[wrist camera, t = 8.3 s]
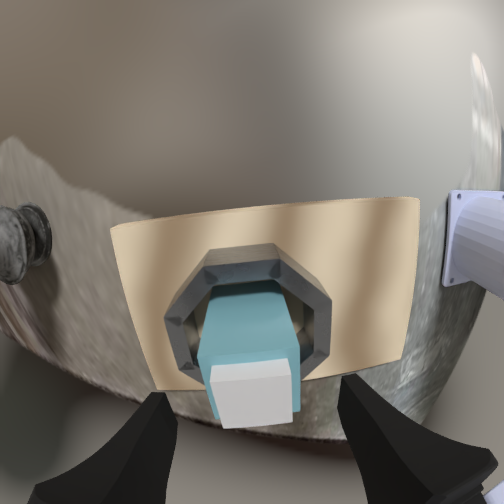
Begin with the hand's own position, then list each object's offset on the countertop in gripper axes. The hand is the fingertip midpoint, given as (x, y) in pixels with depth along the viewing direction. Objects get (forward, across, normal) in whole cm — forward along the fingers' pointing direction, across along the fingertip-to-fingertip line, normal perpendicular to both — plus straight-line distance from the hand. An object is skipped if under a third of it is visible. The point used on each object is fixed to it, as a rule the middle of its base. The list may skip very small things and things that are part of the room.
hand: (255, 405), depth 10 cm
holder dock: (+9, -2, 0) cm, 10 cm away
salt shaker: (+10, +17, -7) cm, 21 cm away
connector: (+8, 0, 0) cm, 8 cm away
